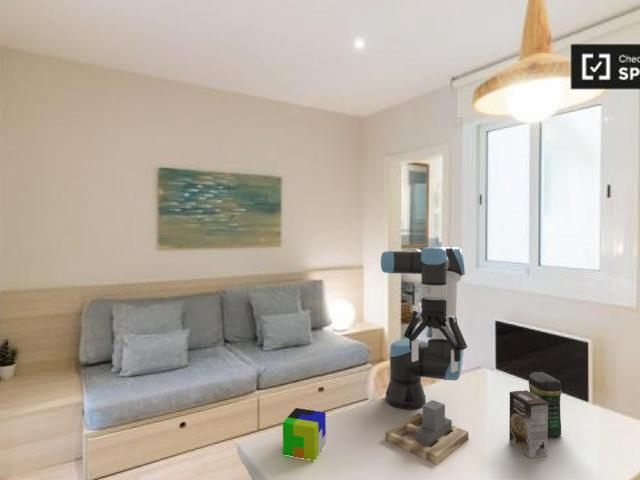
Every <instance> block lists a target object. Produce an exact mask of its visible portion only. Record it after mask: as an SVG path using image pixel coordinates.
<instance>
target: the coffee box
mask: <svg viewBox="0 0 640 480" xmlns="http://www.w3.org/2000/svg"><path fill="white" fill-rule="evenodd" d="M508 434H509V438H508V439H509V444H510V445H512V446H514V448H515V449H517V450H518V451H519V452H521V453H523V455H525V456H526V457H527V458H529V459H536V458H542V457H548V437H547V434H548V402H546V401H544V400H543V399H541V398H539V397H537V396H536V395H534V394H532V393H530V390H515V391H514V390H513V391H509V433H508Z"/></svg>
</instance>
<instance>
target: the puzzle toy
mask: <svg viewBox="0 0 640 480" xmlns="http://www.w3.org/2000/svg"><path fill="white" fill-rule="evenodd" d="M326 414H327V413H326V412H325V411H319V410H313V409H305V408H300V407H299V408H298V407H295V408H294V409H293V410H292V412H290V414H289V415H288V416H287V417H286V418H285V420H283V421H282V453H283V454H284V455H289V456H293V457H298V458H304V459H310V460H316V461H317V459H318V458H317V456H318V455H320V454H321V453H320V451H321V450H322V451H323V449H324V448H323V447H325V446H326V444H327V441H326V440H327V435H326V433H327V430H326V429H327V428H326V427H327V426H326ZM325 443H326V444H325ZM324 445H325V446H324ZM322 448H323V449H322ZM322 451H321V452H322ZM319 453H320V454H319ZM283 454H282V455H283ZM293 457H292V458H293ZM318 457H319V456H318ZM298 458H297V459H298ZM316 458H317V459H316ZM304 459H303V460H304Z"/></svg>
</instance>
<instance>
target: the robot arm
mask: <svg viewBox="0 0 640 480" xmlns="http://www.w3.org/2000/svg"><path fill="white" fill-rule="evenodd" d="M464 263H465V262H464V255H463V251H462V248H460V247H454V246H444V247H443V246H434V247H433V246H423V247H422V246H421V247H416V248H409V249H407V250H405V251H397V250H395V251H393V250H390V251H387V250H386V251H383V252H382V253H381V255H380V270H381V271H382V272H383V273H385V274H403V275H404V274H409V275H412V274H413V275H421V284H420V286H421V287H420V289H421V294H420V295H421V297H422V298H420V299H421V301H420V303H421V304H420V307H421V310H420V309H416V310H413V311H412V317H411V319H410V322H409V323H408V325H407V328H406V329H405V331H404V334H403V337H404V338H403V339H399V340H395V341H394V342H392V343H391V345H390V348H389V349H390V351H389V382H388V384H387V385H388V386H387V389H386V392H385V401H386V403H387V404H388V405H390V406H392V407H394V408H397V409H402V410H416V409H417V410H418V409H420V408H423V405H424V404H426V403H427V401H426V397H427V396H426V394H425V392H424V387H423V384H422V378H427V379H436V380H444V381H457V380H459V379H460V376H461V373H462V367H463V362H464V361H463V360H464V359H463V358H464V350H465V349H467V348H468V345H467V343H466V340H465V338H464V336H463V333H462V330H461V329H460V327H459V324H458V319H457V296H458V295H457V293H458V292H457V291H458V282H460V281H461V279H462V276H464V275H465V274H466V272H465V264H464ZM420 318H421V319H422V321H421V322H420V323H419V325H418V326H417V324H418V322H419V320H420ZM416 326H417V327H416ZM426 328H429V329H431V328H432V331H431V332H432V333H431V337H430V338H429V339H427V344H426V345H425V344H424V345H423V344H422V341H421V340H419V339H417V338H418V337H419V335H421V333H423V331H424V330H425V329H426ZM405 338H406V339H405Z"/></svg>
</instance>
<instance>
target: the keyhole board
mask: <svg viewBox="0 0 640 480" xmlns="http://www.w3.org/2000/svg"><path fill="white" fill-rule="evenodd" d="M421 424H422V425H423V413H420V412H418V413H416V414H414V415H413V416H411V417H409V418H408V419H406V420H404V421H402V422H400V424H397V425H396V426H394V427H392V428H390V429H389V430H387V431H386V432H385V434H384V435H385V436H384V437H385V441H386V442H388V443H390V444H392V445H394V446H396V445H397V446H396V447H398V448H401V449H403V450H405V451H407V452H409V453H411V454H413V455H416V456H418V457H420V458H423V459H424V460H426V461H429V462H430V463H432V464H435V465H439V464H440V462H442V461H443V460H444V459H446V458H447V457H449V456H450V455H451V454H452V453H453V452H454V451H456V450H457V449H458V448H460V447H461V446H462V445H463V444H465V443H466V442H467V441H468V440H469V431H467V430H466V429H463V428H460V427H457V426H455V425H452V430H450V431H449V432H448V433H447V436H444V435H443V436H442V437H441V438H439V439H438V440H436V441H435V442H434V443H432V444H431V448H430V447H428V446H426V445H423V444H421V443H419V442H417V441H415V439H414V440H413V441H412V440H410V439H408V438H405V437H403V435H406V434H408V435H410V436H412V437H415V431H416V430H418V429H419V428H421V427H420V425H421Z"/></svg>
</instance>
